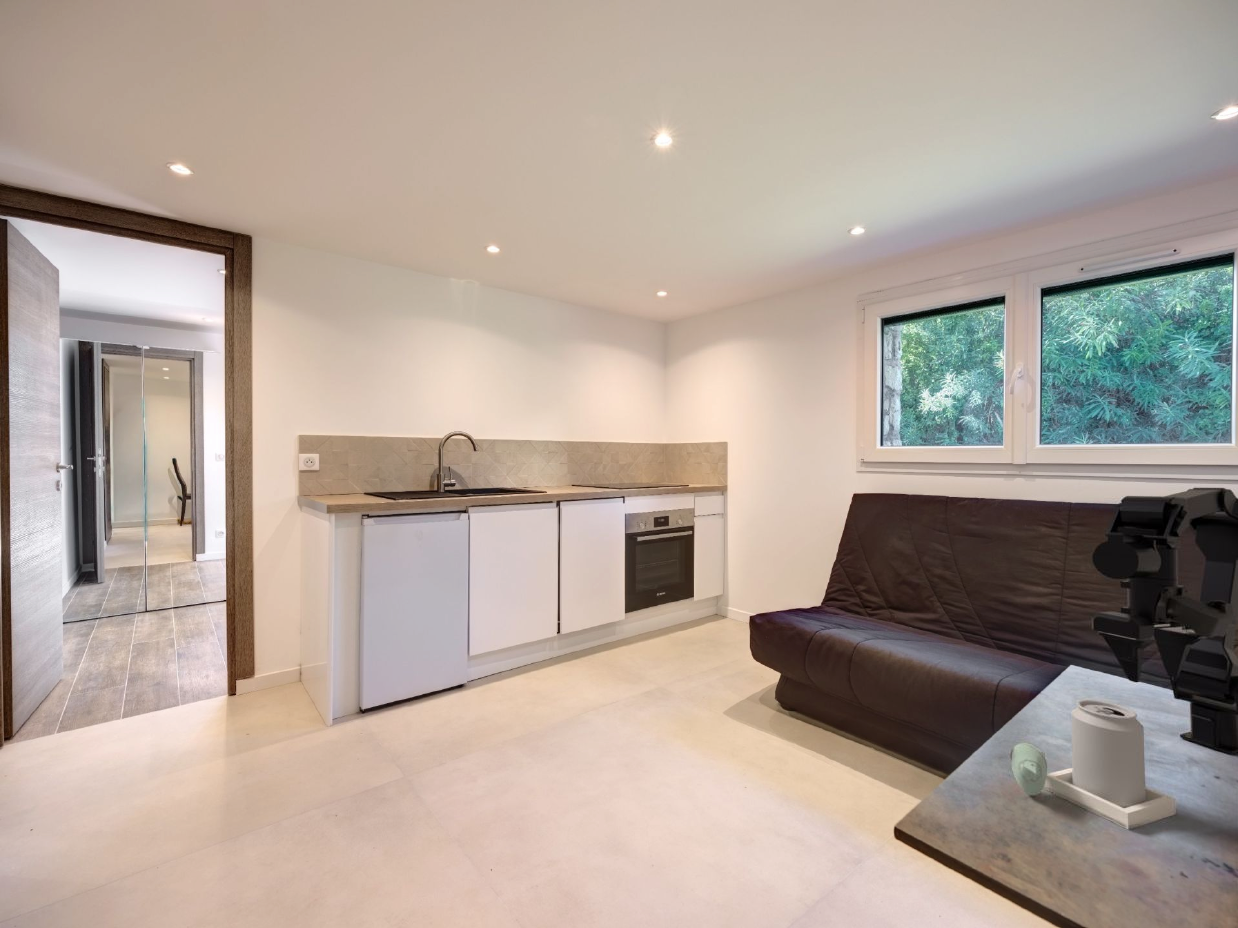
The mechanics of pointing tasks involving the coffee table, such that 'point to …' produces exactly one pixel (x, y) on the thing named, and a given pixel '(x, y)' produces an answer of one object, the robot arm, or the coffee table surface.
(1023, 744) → the green oval piece
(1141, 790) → the can
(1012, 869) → the coffee table surface
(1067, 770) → the tray
